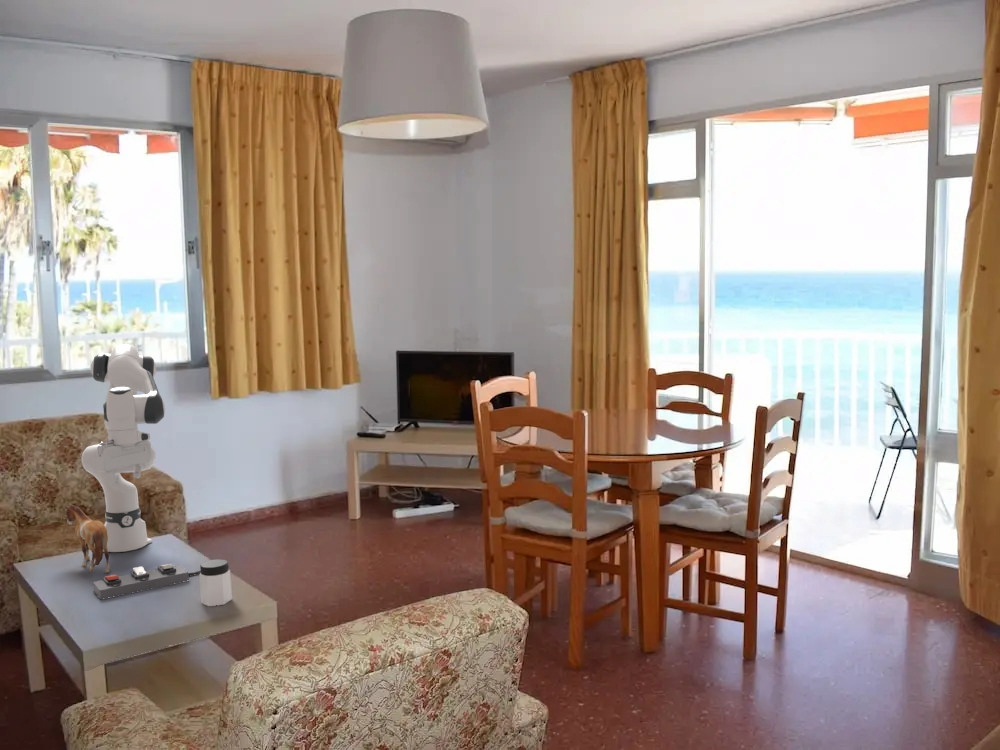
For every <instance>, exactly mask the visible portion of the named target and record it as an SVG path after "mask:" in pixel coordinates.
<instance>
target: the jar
mask: <svg viewBox="0 0 1000 750" xmlns="http://www.w3.org/2000/svg"><path fill="white" fill-rule="evenodd" d="M199 566H200V567H199V568H200V571H201V573H200V574H198V577H199V588H200V590H199V592H200V602H201V604H202V605H205V606H207V607H209V606H210V607H215V606H216V605H217V606H222V605H223V606H225V605H226V604H227V603H229V602H230V601H232V600H233V596H232V578H231V569H229V568H230V567H229V561H228V560H226V559H221V558H220V559H218V558H217V559H211V560H210V559H209V560H205V561H203V562H202V563H200V565H199Z"/></svg>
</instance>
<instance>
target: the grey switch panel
mask: <svg viewBox="0 0 1000 750" xmlns="http://www.w3.org/2000/svg"><path fill="white" fill-rule="evenodd" d="M145 572H146V575H141V576H136V575H135V573H134V571H133V570H132V571H130V574H126V575H122V576H121V575H120V576H118V579H116V580H113V581H108V580H106V577H105V576H104V577H102V580H96V581H93V582H92V584H93V585H92V586H93V592H94V591H95V592H94V593H95V594H96V596H97V595H98V596H99V597H100V598H99V597H98V596H97V597H98V598H99V600H101V599H102V600H104V599H103V598H107V599H109V598H108V597H112V598H114V597H113V596H116V597H119V596H118V595H121V596H123V595H122V594H126V595H129V594H128V593H130V594H133V593H132V592H135V593H138V592H137V591H140V592H142V591H141V590H145V591H148V590H147V589H149V590H152V589H151V588H154V589H158V588H157V587H159V588H162V587H161V586H163V587H167V586H166V585H168V586H171V585H170V584H173V585H175V584H174V583H177V584H180V583H179V582H182V583H184V582H183V581H187V580H189V581H190V579H189V577H191V576H190V575H193V576H195V575H194V574H198V575H199V573H201V570H197V571H193V572H189V571H187V570H186V568H184V567H183V566H182V565H181V564H177V565H173V568H171V569H167V570H163V569H161V568H160V565H159V566H157V569H152V570H147V571H146V570H145ZM187 582H188V581H187Z"/></svg>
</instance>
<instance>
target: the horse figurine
mask: <svg viewBox="0 0 1000 750" xmlns="http://www.w3.org/2000/svg"><path fill="white" fill-rule="evenodd" d="M67 505H68V506H66V505H63V507H64V508H65V510H66V511H65V515H66V516H67V521H66V523H67V524H68V525H70V526H71V525H73V522H74V521H76V525H75V530H74V533H75V535H76V537H77V538H78V541H79V543H80V544H81V551H82V553H83V562H82V564H81V567H83V566H84V567H87V561H90V563H89V572H90V573H93V572H94V571H95V569H94V568H95V566H99V565H100V564H101V562H102V560H103V557H104V558H105V561H106V562H105V563H106V564H105V567H106V568H105V570H104V573H105V574H107V573H110V572H111V571H110V563H109V559H110V553H109V552H108V551H107V541H108V535H107V530H106V527H105V523H104V522H102V521H100V520H92V518H90V517H89V516H87V515H86V513H84V511H83V510H82V509H81V508H80V507H79V506H78V505H77V506H76V505H74V504H67ZM89 550H90V551H89ZM103 550H104V552H103ZM90 552H91V553H92V555H91V558H90V555H89V553H90ZM90 559H91V560H90Z"/></svg>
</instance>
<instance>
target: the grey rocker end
mask: <svg viewBox="0 0 1000 750" xmlns="http://www.w3.org/2000/svg"><path fill="white" fill-rule="evenodd" d="M159 566H160V568H161V569H163V570H167V569H171V568H173V566H174V565H173V563H167V564H166V563H165V564H160V565H159Z"/></svg>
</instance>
